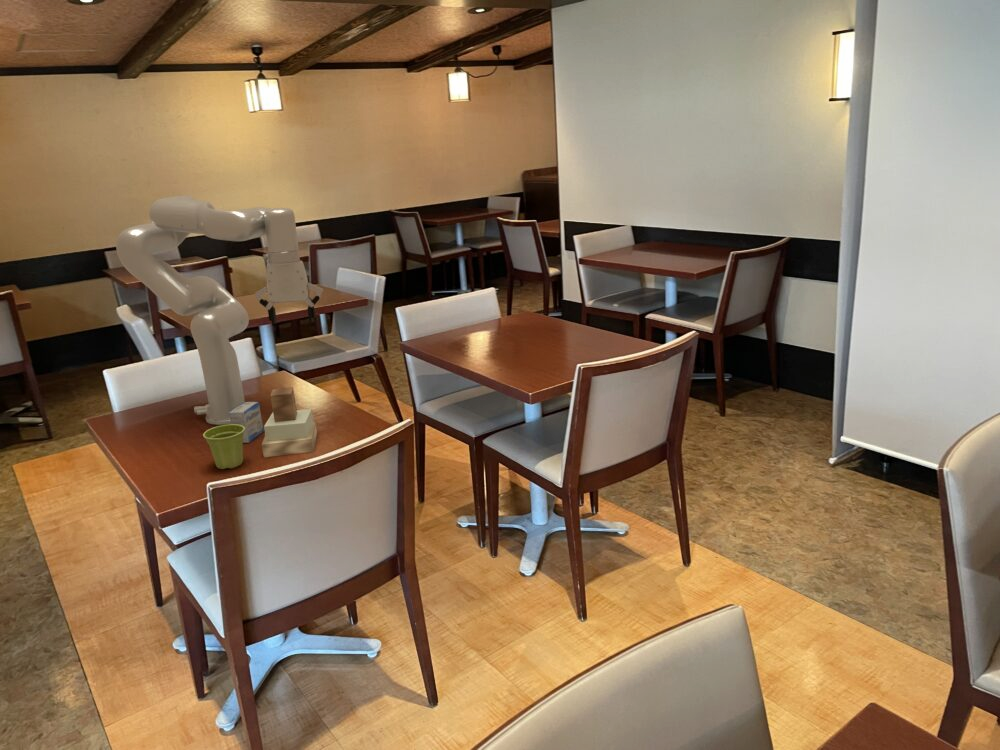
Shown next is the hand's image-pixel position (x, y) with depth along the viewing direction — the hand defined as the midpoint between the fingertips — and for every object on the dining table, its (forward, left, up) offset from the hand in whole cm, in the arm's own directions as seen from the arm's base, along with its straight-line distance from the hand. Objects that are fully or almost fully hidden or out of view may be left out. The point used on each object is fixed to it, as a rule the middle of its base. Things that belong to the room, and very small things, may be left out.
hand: (292, 322), depth 198 cm
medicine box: (-15, -7, -28) cm, 33 cm away
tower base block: (-3, -16, -29) cm, 33 cm away
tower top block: (-3, -16, -25) cm, 30 cm away
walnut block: (-3, -16, -21) cm, 26 cm away
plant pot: (-17, -24, -28) cm, 41 cm away
